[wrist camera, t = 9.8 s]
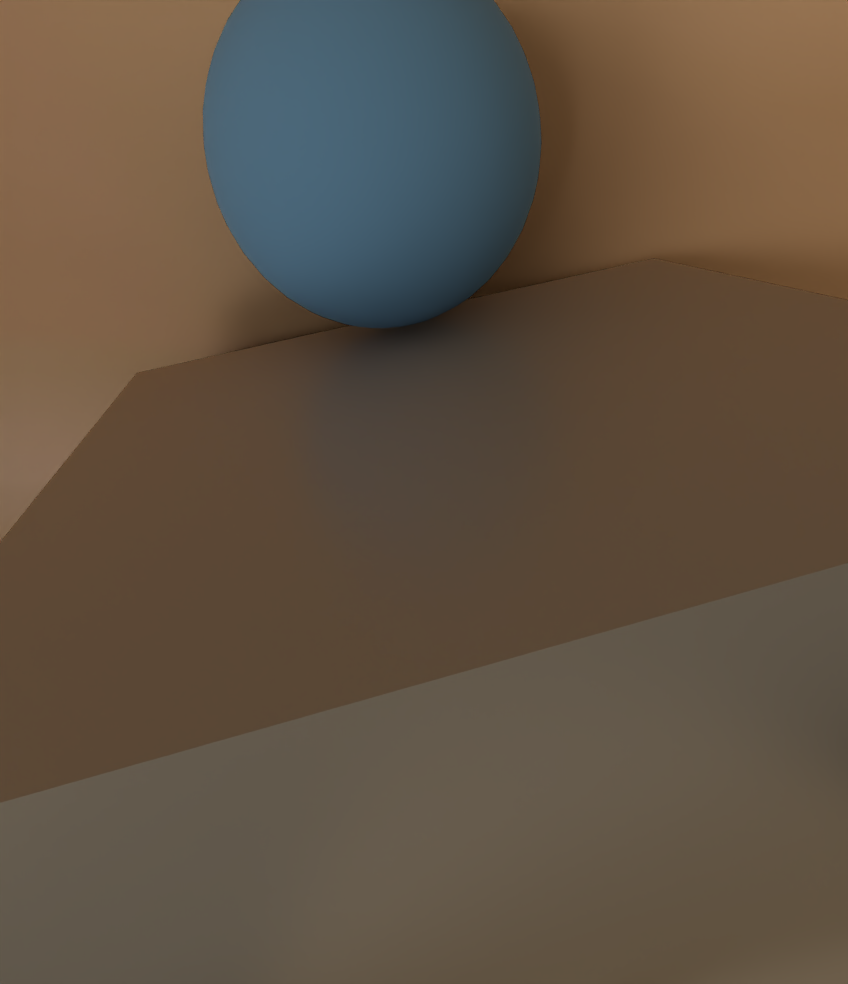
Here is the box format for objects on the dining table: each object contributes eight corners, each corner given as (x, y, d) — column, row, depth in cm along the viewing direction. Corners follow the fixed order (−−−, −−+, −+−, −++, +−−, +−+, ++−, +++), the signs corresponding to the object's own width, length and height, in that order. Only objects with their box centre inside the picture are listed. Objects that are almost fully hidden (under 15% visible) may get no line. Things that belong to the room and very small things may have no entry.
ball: (562, 352, 10) (653, -5, 6) (281, 421, 9) (146, 82, 5) (470, 191, 12) (485, -143, 8) (243, 238, 12) (129, -96, 8)
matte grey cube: (641, 629, 16) (936, 1010, 9) (293, 728, 16) (295, 1246, 8) (654, 257, 11) (1376, 412, 4) (136, 373, 10) (-273, 880, 3)
